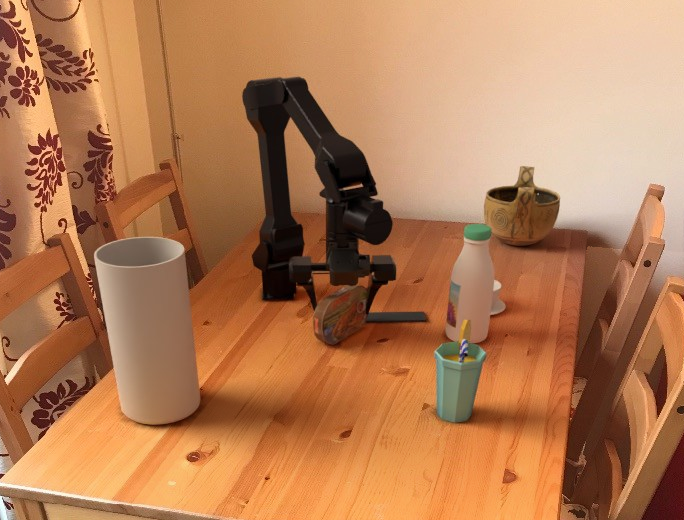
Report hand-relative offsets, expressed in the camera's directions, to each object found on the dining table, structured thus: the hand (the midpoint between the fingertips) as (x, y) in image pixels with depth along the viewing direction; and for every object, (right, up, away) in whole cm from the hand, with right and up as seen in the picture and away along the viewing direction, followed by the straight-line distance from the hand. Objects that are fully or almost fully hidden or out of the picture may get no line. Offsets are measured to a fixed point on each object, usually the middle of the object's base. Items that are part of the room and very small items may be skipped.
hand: (341, 314), depth 145 cm
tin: (0, -3, +2) cm, 4 cm away
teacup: (+28, +4, +12) cm, 31 cm away
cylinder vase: (-29, -19, -19) cm, 40 cm away
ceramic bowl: (+43, +27, +43) cm, 66 cm away
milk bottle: (+23, -4, +2) cm, 23 cm away
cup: (+17, -21, -22) cm, 35 cm away
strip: (+10, +1, +8) cm, 13 cm away
